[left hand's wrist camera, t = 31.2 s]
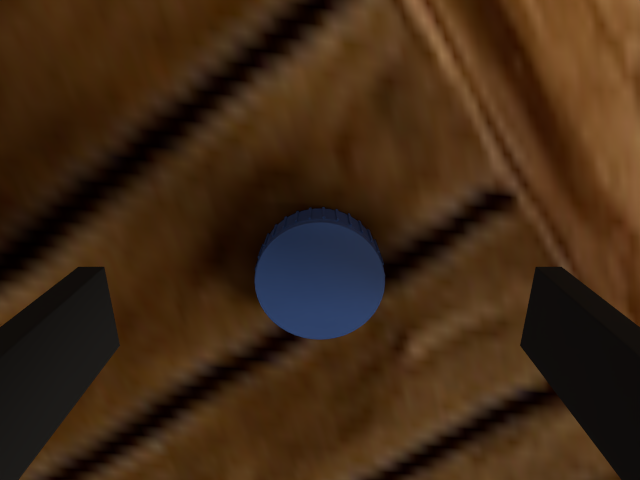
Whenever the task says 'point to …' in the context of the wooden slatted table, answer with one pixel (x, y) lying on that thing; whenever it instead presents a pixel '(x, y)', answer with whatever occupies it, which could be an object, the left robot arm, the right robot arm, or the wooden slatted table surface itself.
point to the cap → (319, 274)
